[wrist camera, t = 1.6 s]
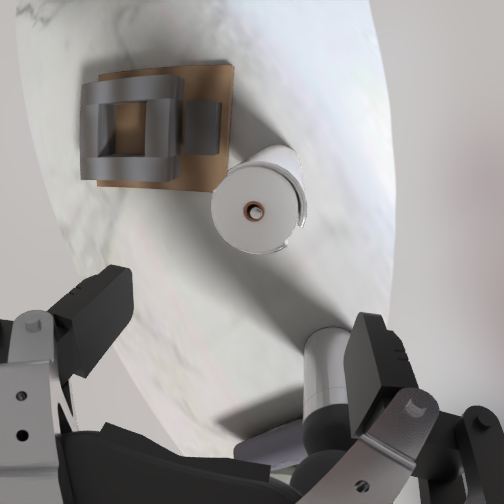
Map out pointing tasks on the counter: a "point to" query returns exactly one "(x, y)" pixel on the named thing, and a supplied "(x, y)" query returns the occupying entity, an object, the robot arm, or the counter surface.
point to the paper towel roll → (261, 201)
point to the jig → (157, 128)
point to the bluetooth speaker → (274, 447)
